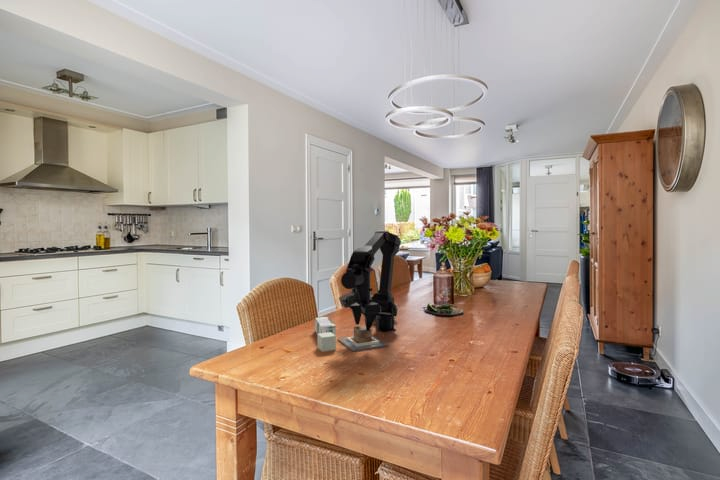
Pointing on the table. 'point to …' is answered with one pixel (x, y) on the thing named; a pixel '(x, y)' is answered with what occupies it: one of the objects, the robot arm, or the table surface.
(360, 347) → the square panel
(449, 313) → the salad plate
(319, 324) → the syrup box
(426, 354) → the table surface
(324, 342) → the sage block
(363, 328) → the walnut block
